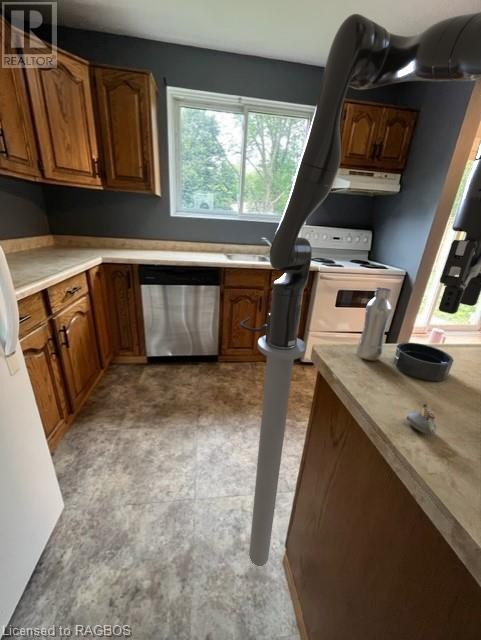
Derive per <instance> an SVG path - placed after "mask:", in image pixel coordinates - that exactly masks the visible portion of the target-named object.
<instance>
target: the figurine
mask: <svg viewBox="0 0 481 640" xmlns="http://www.w3.org/2000/svg"><path fill="white" fill-rule="evenodd" d="M422 407H423V409H422V410H421V411H409V412H408V413H407V416H406V421H408V423H407V424H408V426H410V427H413V428H414V429H415V430H418V431H419V432H421V433H423V434H424V435H428V436H434V435H435V433H436V432H435V431H436V430H437V424H436V422H435V418H436V417H435V413H434V412H433V409H432V410H431V408H429V407H428V403H427V402H424V403H423V404H422Z"/></svg>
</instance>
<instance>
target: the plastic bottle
mask: <svg viewBox="0 0 481 640" xmlns="http://www.w3.org/2000/svg"><path fill="white" fill-rule="evenodd" d="M373 294H374V297H373V298H372V299H370V300H369V302H368V303H367V304H366V307H365V315H364V324H363V329H362V332H361V335H360V338H359V340H358V342H357V344H356V353H357V355H358V357H360V358H361V359H364V360H367V361H377V360H379V359H380V358H381V356H382V354H383V349H384V346H383V344H384V339H385V338H384V337H385V332H386V329H387V327H388V323H389V322H390V319H391V317H392V315H393V312H394V310H393V309H394V308H393V306H392V303H391V301H390V298H391V294H392V289H390V288H387V287H376V288H375V291H374V293H373Z"/></svg>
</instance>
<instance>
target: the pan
mask: <svg viewBox="0 0 481 640" xmlns="http://www.w3.org/2000/svg"><path fill="white" fill-rule="evenodd" d="M454 361H455V359H454V357H452V356H451V354H449V353H447V352H446V351H445V350H444V351H443V350H442V349H439V348H437V347H434V346H431V345H427V344H424V343H423V344H422V343H418V342H400V343H398V345H396V349H395V351H394V356H393V359H392V362H393V364H394V366H395V367H396V368H397V369H398V370H399V371H400V372H402V373H404V374H405V375H407V376H410V377H413V378H415V379H419V380H422V381H428V382H440V381H443V380H446V379H448V377H449V375H450V372H451V369H452V367H453V363H454Z"/></svg>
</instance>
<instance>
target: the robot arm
mask: <svg viewBox="0 0 481 640" xmlns="http://www.w3.org/2000/svg"><path fill="white" fill-rule="evenodd" d="M480 78H481V11H480V12H473V13H468V14H462V15H455V16H452V17H448V18H445V19H442V20H440V21H438V22H436V23H434V24H432V25H431V26H429V27H427V28H426V29H425V30H423V31H422V32H421V33H419V34H416V35H412V36H411V35H410V36H405V35H398V34H394V33H391V32H389V31H388V30H387V29H386V28H385V27H383V26H382V25H380V24H378V23H377V22H375V21H373V20H372V19H370V18H368V17H366V16H364V15H362V14H360V13H352V14H351V15H349V16H347V18H345V19H344V21H343V22H342V23H341V24H340V26H339V28H338V29H337V31H336V33H335V34H334V38H333V39H332V42H331V45H330V47H329V52H328V54H327V57H326V62H325V66H324V70H323V75H322V79H321V83H320V88H319V93H318V97H317V100H316V101H317V102H316V104H315V105H316V106H315V111H314V114H313V117H312V121H311V125H310V128H309V131H308V135H307V138H306V141H305V145H304V148H303V151H302V153H301V157H300V160H299V163H298V166H297V169H296V173H295V175H294V180H293V184H292V188H291V191H290V194H289V198H288V200H287V203H286V206H285V209H284V212H283V215H282V217H281V219H280V222H279V225H278V227H277V229H276V232H275V235H274V237H273V239H272V242H271V245H270V249H269V263H270V266H271V267H272V268H273V269H274V270H277V271H284V274H283V275H282V276H281V277H280V278H278V279H276V280H275V281H273V283H272V290H271V302H270V311H269V312H270V313H267V315H266V316H267V318H266V323H265V324H264V325H262V326H261V327H260V328H252V327H248V326H246V325H244V324H245V323H247V322H249V321H250V320H251V317H250V316H248V317H247V318H246V319H244V320H242V321H240V323H239V326H240V327H241V328H242V329H243V330H246V331H249V332H255V333H256V332H257V333H258V332H259V333H260V332H263V334H264V333H265V335H266V339H265V342H267V343H268V344H269V345H270V346H271V347H273V348H276V349H281V350H289V349H293V348H295V347H296V346H297V338H298V334H299V327H300V321H301V320H300V319H301V313H302V305H303V296H304V290H305V288H306V286H307V284H308V280H309V275H310V269H311V263H312V256H313V251H312V245H311V243H310V241H309V239H306V238H305V237H302V236H301V237H300V236H299V235H300V233H301V230H302V228H303V227H304V225H305V224H306V222H307V220H309V218H310V217H311V216H312V215H313V214H314V212H315V211H317V209H318V208H319V207H320V206H321V204H323V202H324V201H325V199H326V198H327V197H328V195H329V193H330V191H331V189H332V187H333V185H334V183H335V179H336V177H337V174H338V171H339V169H340V166H341V162H342V138H341V114H342V109H343V105H344V102H345V98H346V95H347V91H348V89H349V88H352V89H354V90H357V91H359V90H360V91H362V90H363V91H364V90H369V89H374V88H379V87H383V86H386V85H391V84H398V83H405V82H432V83H466V82H467V83H468V82H473V81H476V80H478V79H480ZM464 183H465V184H464V187H463V190H462V193H461V197H460V200H459V202H458V206H457V209H456V212H455V213H456V214H455V216H454V220H453V223H452V226H451V227H452V229H451V230H453V231H454V232H459V233H460V232H463V233H465V235H464V237H463V239H453V240H452V242H451V244H450V247H449V251H448V254H447V256H446V261H445V263H444V267H443V270H442V273H441V276H440V278H439V283H440V284H443V286H444V289H443V293H442V296H441V299H440V303H439V306H438V310H439V312H441V313H442V312H443V313H446V314H450V315H454V314H456V313H458V311H459V308H460V305H465V306H470V307H473V306H476V305H477V303H478V301H479V298H480V296H481V139H480V140H479V144H478V148H477V150H476V154H475V157H474V160H473V163H472V166H471V168H470V171H469V173H468V175H467V177H466V180H465V182H464Z"/></svg>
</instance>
